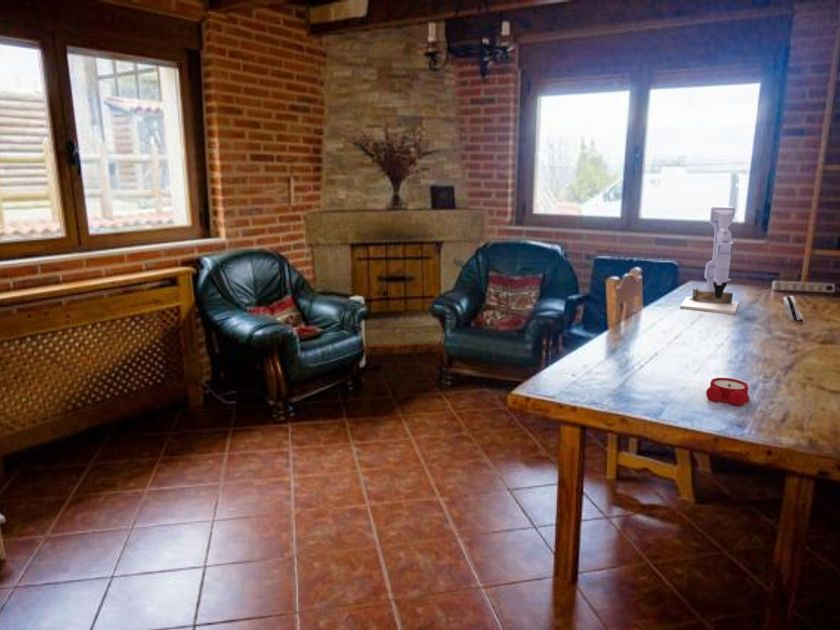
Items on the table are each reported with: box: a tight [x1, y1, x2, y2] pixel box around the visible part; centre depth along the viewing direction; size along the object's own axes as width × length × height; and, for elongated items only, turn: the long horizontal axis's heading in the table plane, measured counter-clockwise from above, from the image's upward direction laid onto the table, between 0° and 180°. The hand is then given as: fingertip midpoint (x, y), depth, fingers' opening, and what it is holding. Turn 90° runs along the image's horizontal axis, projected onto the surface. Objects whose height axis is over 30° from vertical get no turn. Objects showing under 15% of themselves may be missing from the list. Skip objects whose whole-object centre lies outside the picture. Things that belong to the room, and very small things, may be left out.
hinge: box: [782, 295, 805, 323], centre depth 255 cm, size 17×5×10 cm, turn 155°
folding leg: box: [691, 287, 734, 303], centre depth 278 cm, size 16×3×5 cm, turn 59°
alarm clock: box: [705, 377, 750, 407], centre depth 163 cm, size 10×6×15 cm
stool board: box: [679, 291, 739, 315], centre depth 274 cm, size 23×22×5 cm
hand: (718, 298), depth 274 cm, fingers closed
